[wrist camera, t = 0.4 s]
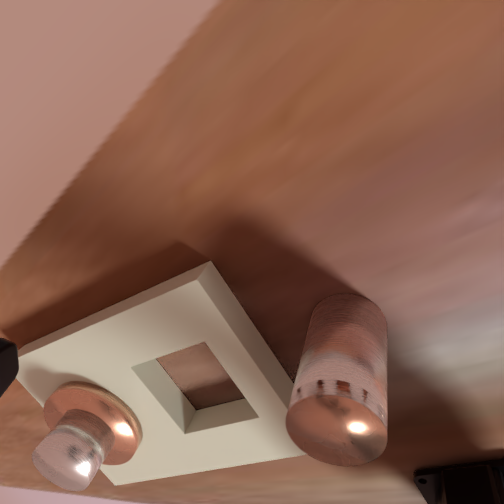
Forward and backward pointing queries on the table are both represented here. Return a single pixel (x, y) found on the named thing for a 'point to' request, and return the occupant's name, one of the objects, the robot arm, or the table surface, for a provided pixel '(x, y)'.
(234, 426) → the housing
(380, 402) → the loose cylinder
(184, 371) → the table surface
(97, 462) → the copper flanged knob
